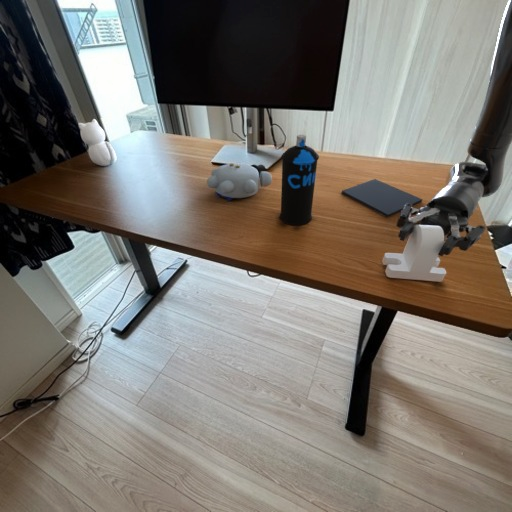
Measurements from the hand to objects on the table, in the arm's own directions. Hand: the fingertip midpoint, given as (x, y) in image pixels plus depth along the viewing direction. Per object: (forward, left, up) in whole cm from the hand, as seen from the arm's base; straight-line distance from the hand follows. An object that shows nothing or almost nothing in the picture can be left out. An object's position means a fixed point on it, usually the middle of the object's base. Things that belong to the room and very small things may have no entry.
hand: (422, 243), depth 46 cm
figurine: (+51, +8, -8) cm, 53 cm away
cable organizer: (+1, -2, -8) cm, 9 cm away
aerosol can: (+29, +4, -8) cm, 31 cm away
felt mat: (+24, -22, -8) cm, 34 cm away
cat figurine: (+100, +40, -8) cm, 108 cm away
